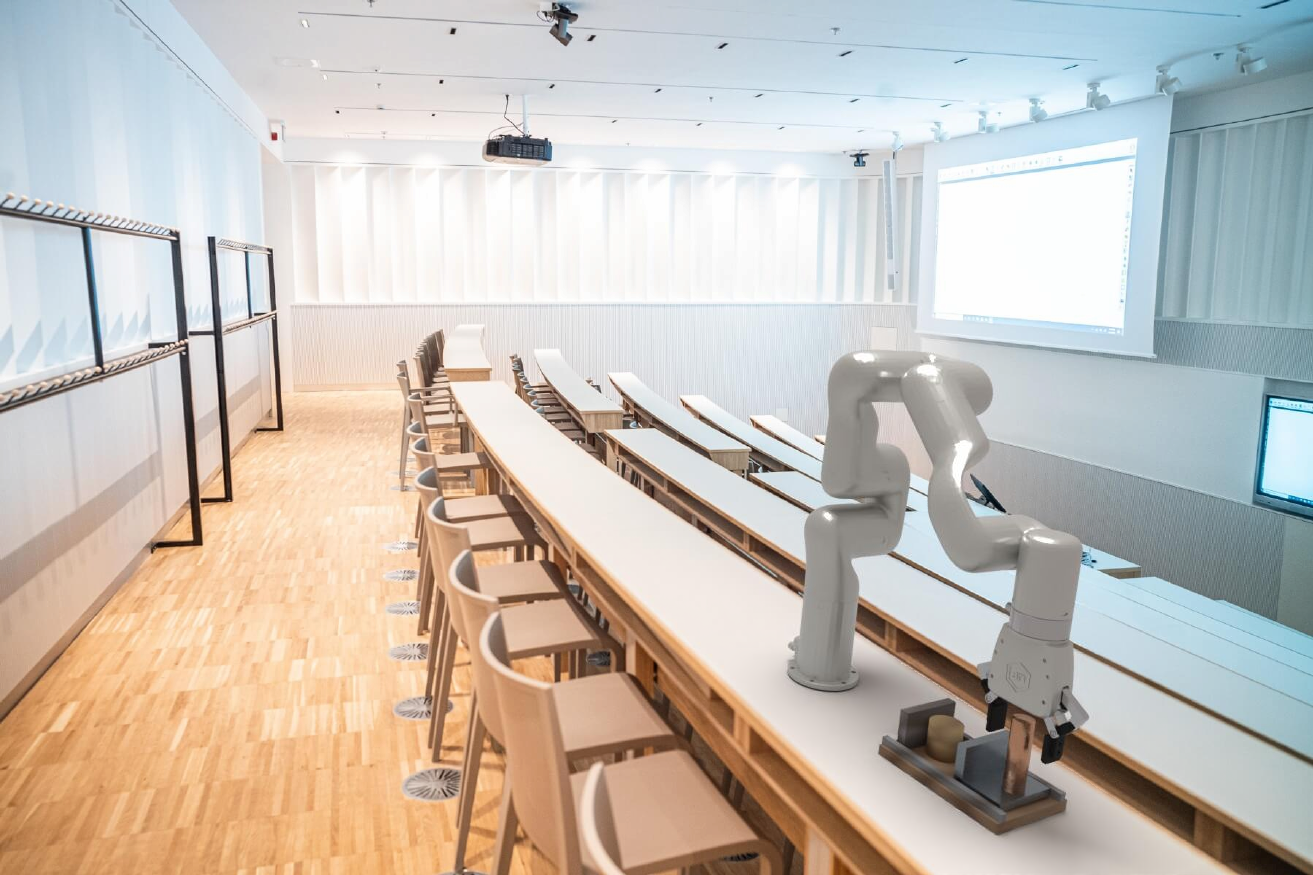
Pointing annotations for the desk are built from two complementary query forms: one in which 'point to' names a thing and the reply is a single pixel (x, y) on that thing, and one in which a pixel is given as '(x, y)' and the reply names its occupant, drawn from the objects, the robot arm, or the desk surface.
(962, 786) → the press base
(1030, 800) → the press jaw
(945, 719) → the tan round peg
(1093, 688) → the desk surface
